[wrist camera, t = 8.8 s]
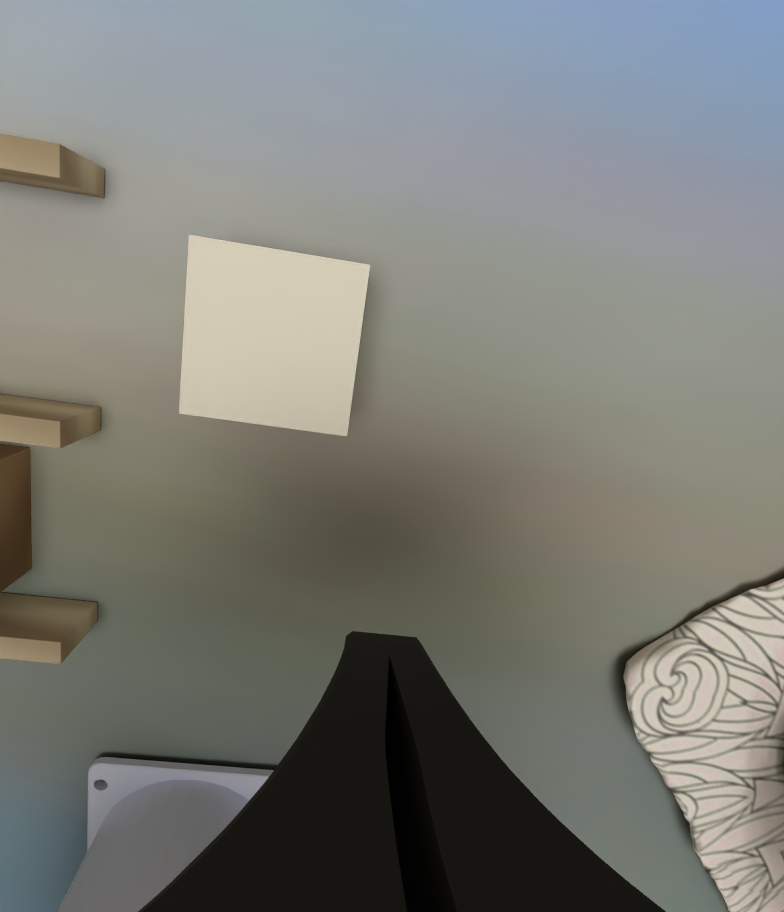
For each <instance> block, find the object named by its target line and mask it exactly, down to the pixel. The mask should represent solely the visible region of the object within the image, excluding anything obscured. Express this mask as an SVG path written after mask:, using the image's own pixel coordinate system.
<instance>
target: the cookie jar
mask: <svg viewBox="0 0 784 912" xmlns="http://www.w3.org/2000/svg"><path fill="white" fill-rule="evenodd" d="M623 678H624V682H625V686H626V700H627V705H628V711H629V715H630V717H631V720H632V723H633V726H634V730H635V733H636V736H637V739H638V742H639V744H640V745H641V746H642V747H643V748H644V750H645V751H646V752H647V753H648V755H649V757H650V759H651V761H652V763H653V764H654V765H655V766H656V767H657V769H658V770H659V772H660V773H661V775H662V778H663V780H664V783H665V786H666V787H667V788H668V789H670V790H671V791H672V792H673V794H674V796H675V798H676V801H677V802H678V804H679V806H680V808H681V809H682V811H683V814H684V816H685V819H686V820H687V821H688V822H689V824H690V832H691V839H692V843H693V849H694V850H695V851H696V853H697V854H698V855H699V857H700V858H701V861H702V863H703V866H704V868H705V870H706V873H708V874H709V875H710V876H711V877H712V878H713V879H714V881H715V883H716V885H717V887H718V889H719V890H720V891H721V893H722V895H723V898H724V900H725V902H726V904H727V907H728V910H729V911H730V912H784V579H781V580H778V581H776V582H773V583H771V584H768V585H766V586H762V587H758V588H754V589H750V590H748V591H746V592H744V593H742V594H739V595H737V596H735V597H733V598H731V599H729V600H727V601H724V602H722V603H720V604H717V605H715V606H713V607H711V608H709V609H707V610H705V611H704V612H702V613H700V614H698V615H697V616H695V617H694V618H692V619H691V620H689V621H687V622H686V623H684V624H683V625H681V626H679V627H678V628H676V629H675V630H673V631H671V632H669V633H668V634H666V635H664V636H663V637H661V638H659V639H658V640H656V641H654V642H653V643H651V644H649V645H647V646H646V647H644V648H643V649H641V650H640V651H638V652H637V653H636V654H635V655H634V656H632V657H631V658H630V659H629V660H628V661H627V662H626V667H625V671H624V676H623Z"/></svg>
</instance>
